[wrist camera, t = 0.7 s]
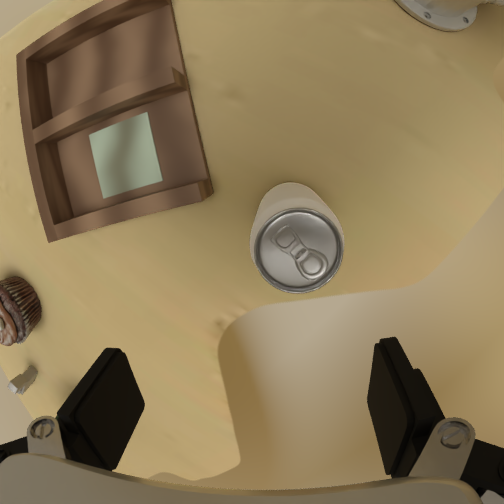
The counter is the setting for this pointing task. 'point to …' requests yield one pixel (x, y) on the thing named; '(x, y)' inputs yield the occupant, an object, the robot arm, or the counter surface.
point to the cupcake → (17, 310)
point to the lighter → (23, 381)
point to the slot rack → (110, 118)
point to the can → (296, 239)
